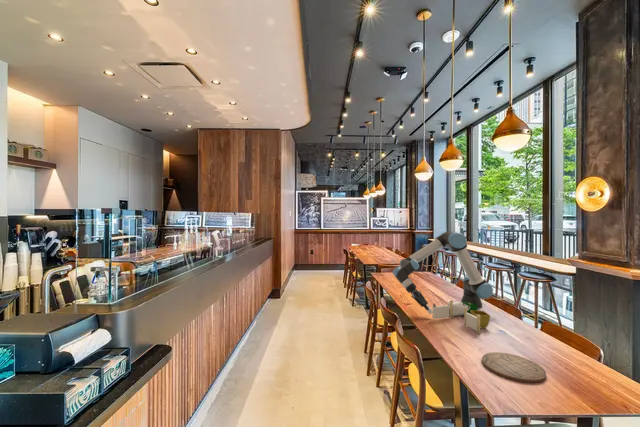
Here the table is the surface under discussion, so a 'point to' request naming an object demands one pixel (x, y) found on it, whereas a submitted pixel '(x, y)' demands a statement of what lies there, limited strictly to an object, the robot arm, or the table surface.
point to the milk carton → (462, 308)
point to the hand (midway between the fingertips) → (431, 313)
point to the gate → (440, 311)
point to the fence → (468, 319)
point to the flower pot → (482, 318)
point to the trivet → (514, 367)
